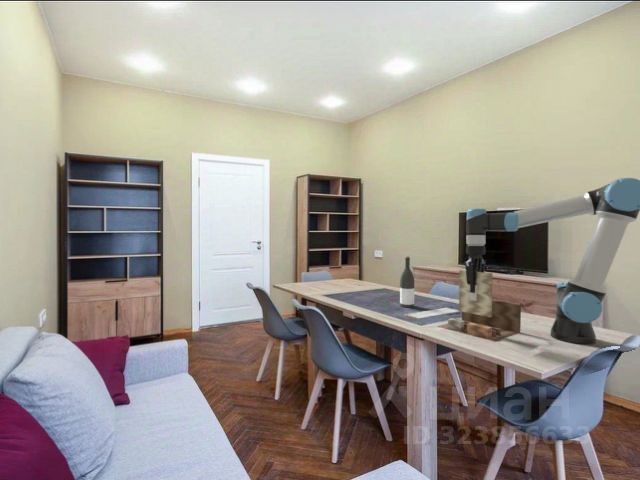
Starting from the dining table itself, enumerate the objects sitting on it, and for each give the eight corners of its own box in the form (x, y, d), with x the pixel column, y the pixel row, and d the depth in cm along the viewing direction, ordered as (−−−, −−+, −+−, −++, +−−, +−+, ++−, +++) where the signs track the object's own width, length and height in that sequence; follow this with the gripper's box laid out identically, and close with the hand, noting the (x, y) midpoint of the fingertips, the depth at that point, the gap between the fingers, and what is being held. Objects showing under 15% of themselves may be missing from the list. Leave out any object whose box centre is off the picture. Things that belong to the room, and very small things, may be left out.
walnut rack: (520, 336, 146) (520, 304, 145) (494, 345, 133) (495, 310, 133) (463, 322, 167) (463, 294, 166) (436, 329, 154) (437, 299, 154)
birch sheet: (492, 316, 143) (492, 273, 143) (489, 317, 142) (490, 273, 142) (461, 310, 154) (461, 270, 154) (458, 310, 153) (459, 270, 153)
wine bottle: (399, 306, 200) (400, 255, 199) (400, 304, 208) (401, 254, 207) (413, 307, 198) (414, 255, 197) (414, 305, 206) (414, 254, 205)
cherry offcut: (491, 337, 139) (492, 327, 139) (487, 338, 137) (488, 328, 137) (470, 331, 146) (471, 322, 146) (466, 333, 144) (467, 323, 144)
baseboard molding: (401, 316, 181) (419, 321, 171) (401, 310, 181) (419, 315, 171) (441, 309, 197) (460, 313, 187) (442, 304, 197) (460, 308, 187)
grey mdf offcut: (464, 330, 148) (464, 321, 148) (460, 331, 147) (460, 322, 147) (451, 327, 153) (451, 318, 153) (447, 328, 152) (447, 319, 151)
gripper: (476, 244, 155) (476, 296, 155) (457, 245, 146) (457, 300, 147) (493, 244, 149) (492, 299, 149) (474, 245, 140) (473, 303, 141)
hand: (475, 299), depth 148 cm, fingers closed on birch sheet, 2 cm apart
